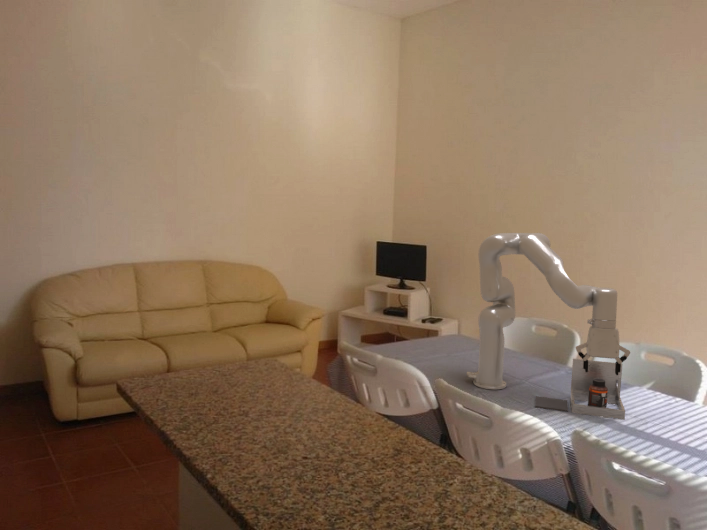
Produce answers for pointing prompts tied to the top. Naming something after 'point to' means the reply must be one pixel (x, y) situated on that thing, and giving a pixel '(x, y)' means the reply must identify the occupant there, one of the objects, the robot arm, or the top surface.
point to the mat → (551, 403)
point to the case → (585, 379)
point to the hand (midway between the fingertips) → (601, 372)
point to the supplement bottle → (598, 393)
